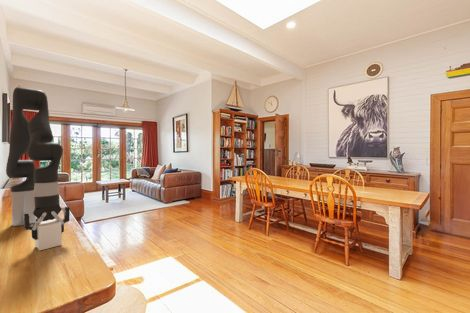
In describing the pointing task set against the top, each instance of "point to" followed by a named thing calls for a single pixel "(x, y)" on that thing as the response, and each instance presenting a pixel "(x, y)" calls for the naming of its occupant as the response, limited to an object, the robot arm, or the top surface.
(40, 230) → the white block
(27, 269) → the top surface
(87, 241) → the top surface
